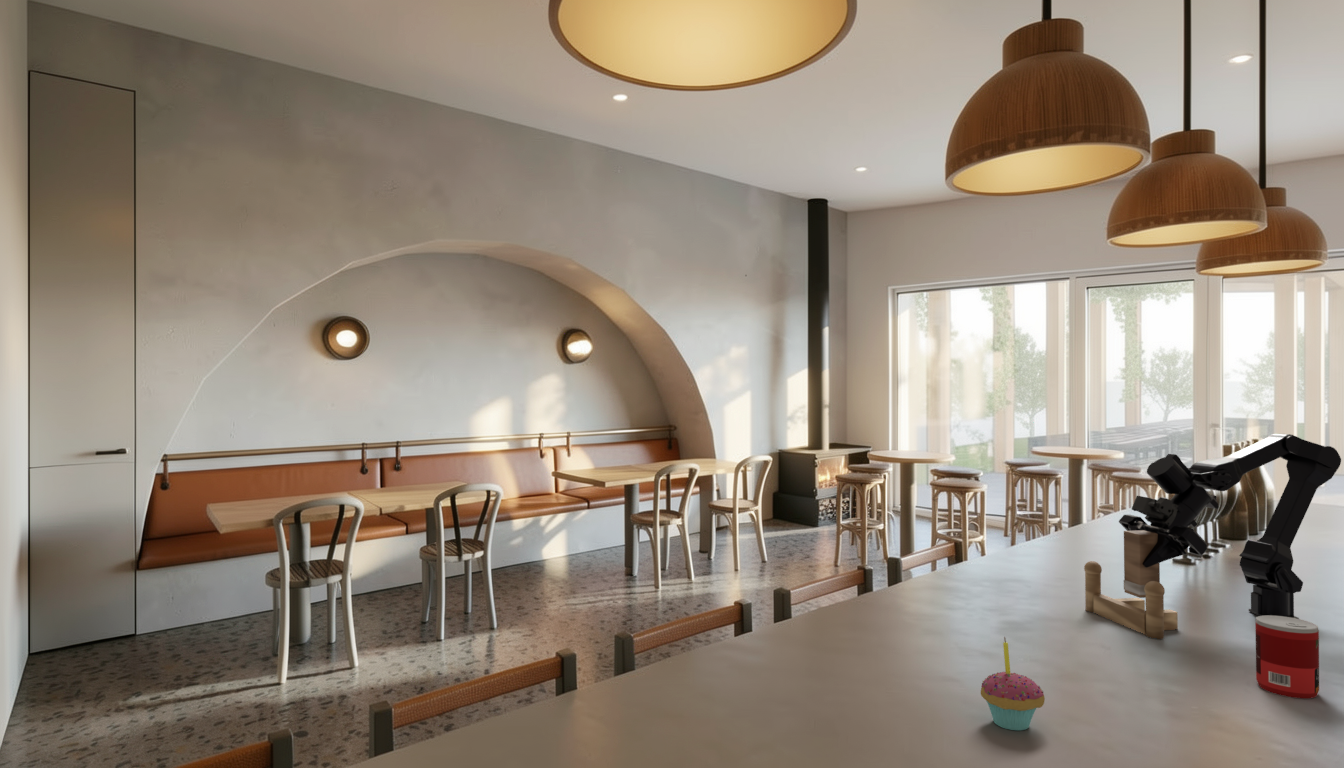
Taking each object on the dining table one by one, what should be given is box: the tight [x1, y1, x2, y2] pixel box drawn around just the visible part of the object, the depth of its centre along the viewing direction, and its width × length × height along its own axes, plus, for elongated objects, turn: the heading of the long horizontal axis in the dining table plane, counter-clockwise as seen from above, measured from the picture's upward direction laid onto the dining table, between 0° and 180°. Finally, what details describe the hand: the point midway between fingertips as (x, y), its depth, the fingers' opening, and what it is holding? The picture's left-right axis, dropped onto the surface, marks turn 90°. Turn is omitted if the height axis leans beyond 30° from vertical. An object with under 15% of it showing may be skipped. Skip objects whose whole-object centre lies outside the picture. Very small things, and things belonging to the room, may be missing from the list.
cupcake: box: [980, 636, 1046, 731], centre depth 111 cm, size 9×8×12 cm
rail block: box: [1123, 530, 1161, 599], centre depth 160 cm, size 5×5×13 cm
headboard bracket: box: [1083, 560, 1179, 640], centre depth 160 cm, size 10×21×11 cm, turn 7°
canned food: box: [1254, 615, 1320, 700], centre depth 124 cm, size 8×8×11 cm
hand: (1135, 563), depth 160 cm, fingers closed on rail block, 4 cm apart
